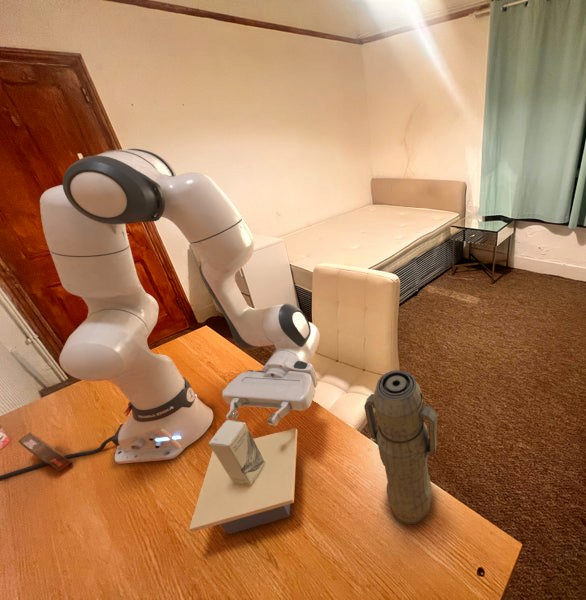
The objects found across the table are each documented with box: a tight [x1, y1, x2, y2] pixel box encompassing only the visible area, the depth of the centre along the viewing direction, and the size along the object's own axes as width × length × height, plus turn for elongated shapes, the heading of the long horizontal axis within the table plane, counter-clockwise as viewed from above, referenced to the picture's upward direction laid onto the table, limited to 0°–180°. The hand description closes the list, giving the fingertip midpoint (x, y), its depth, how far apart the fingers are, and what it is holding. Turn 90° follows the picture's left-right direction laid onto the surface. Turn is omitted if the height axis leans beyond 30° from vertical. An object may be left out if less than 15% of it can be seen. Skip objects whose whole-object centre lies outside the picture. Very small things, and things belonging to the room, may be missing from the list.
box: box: [208, 419, 265, 485], centre depth 60 cm, size 5×4×13 cm
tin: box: [18, 431, 73, 472], centre depth 77 cm, size 15×3×8 cm, turn 65°
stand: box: [188, 427, 298, 535], centre depth 65 cm, size 18×16×9 cm
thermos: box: [363, 369, 438, 525], centre depth 55 cm, size 9×12×35 cm
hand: (250, 421), depth 63 cm, fingers open, 8 cm apart
